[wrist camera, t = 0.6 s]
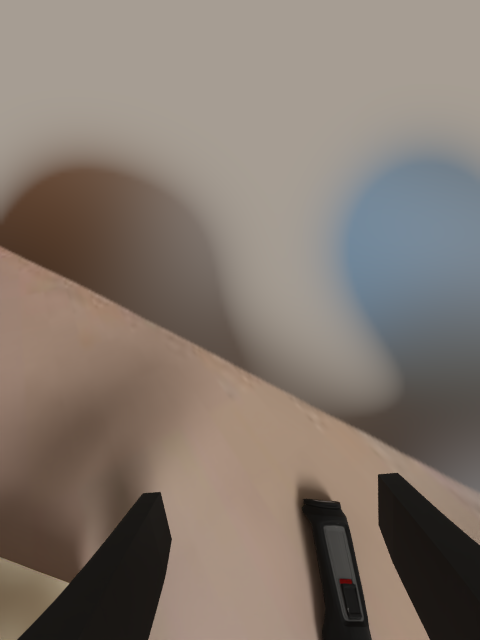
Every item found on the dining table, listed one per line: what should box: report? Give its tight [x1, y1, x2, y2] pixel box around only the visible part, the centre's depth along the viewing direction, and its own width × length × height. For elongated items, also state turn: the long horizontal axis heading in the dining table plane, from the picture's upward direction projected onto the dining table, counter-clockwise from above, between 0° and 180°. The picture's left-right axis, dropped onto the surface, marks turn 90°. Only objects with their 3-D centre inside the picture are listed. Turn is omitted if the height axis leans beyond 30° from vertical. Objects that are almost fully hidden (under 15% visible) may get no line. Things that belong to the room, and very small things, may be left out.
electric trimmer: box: [302, 499, 372, 640], centre depth 21 cm, size 4×16×3 cm, turn 0°
